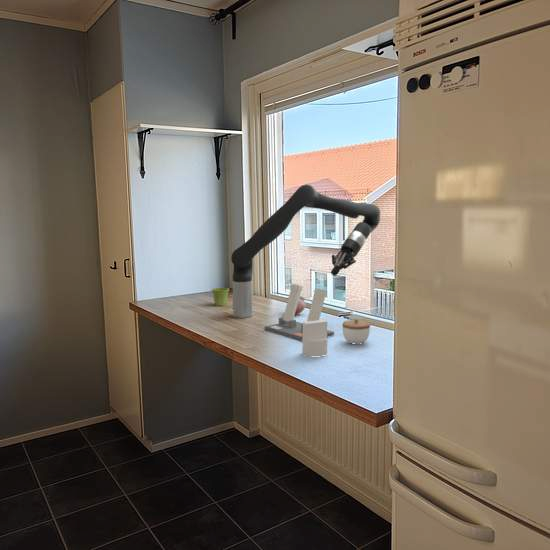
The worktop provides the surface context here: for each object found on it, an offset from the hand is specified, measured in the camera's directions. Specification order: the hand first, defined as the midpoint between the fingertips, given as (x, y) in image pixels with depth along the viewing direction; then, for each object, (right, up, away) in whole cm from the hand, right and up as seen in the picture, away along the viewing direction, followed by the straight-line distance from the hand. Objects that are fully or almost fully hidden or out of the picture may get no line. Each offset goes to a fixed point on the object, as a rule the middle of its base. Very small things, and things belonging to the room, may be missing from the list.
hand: (333, 274), depth 222 cm
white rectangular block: (-10, -29, -29) cm, 42 cm away
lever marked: (-10, -22, -5) cm, 25 cm away
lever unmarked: (-19, -21, +7) cm, 29 cm away
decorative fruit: (-14, -20, +36) cm, 44 cm away
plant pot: (-53, -17, +59) cm, 81 cm away
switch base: (-14, -25, +2) cm, 29 cm away
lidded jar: (+7, -27, -14) cm, 31 cm away
